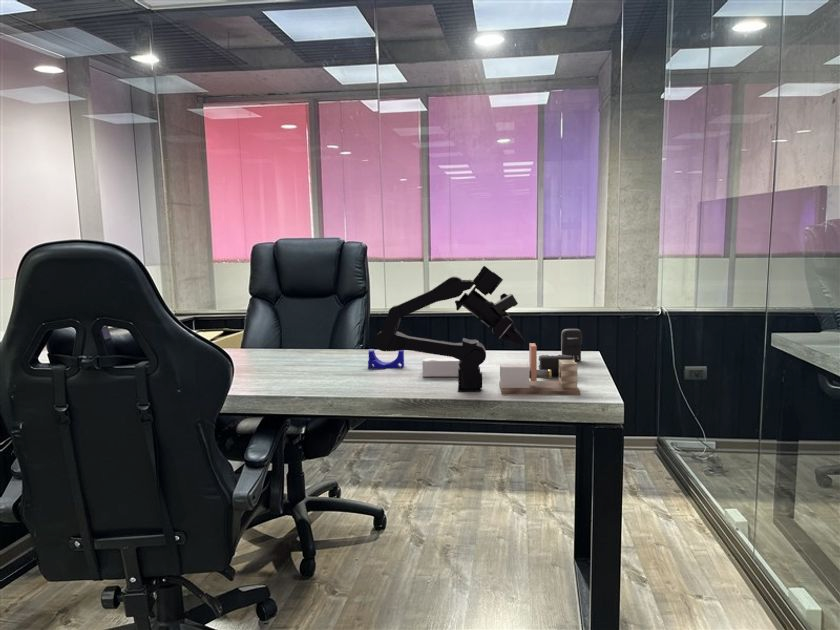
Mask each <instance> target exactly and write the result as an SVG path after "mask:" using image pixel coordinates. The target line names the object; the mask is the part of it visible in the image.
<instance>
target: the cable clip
mask: <svg viewBox="0 0 840 630" xmlns="http://www.w3.org/2000/svg"><path fill="white" fill-rule="evenodd" d="M400 364H401V365H400ZM367 365H368V366H367V370H376V369H377V370H380V369H381V370H385V369H404V367H405V350H401V351H397V357H396V358H395V359H394V360H392V361H389V362H387V361H382V360H381V359H379V358H378V357H377V355H376V353H375V349H369V350H368V360H367Z"/></svg>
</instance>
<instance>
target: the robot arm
mask: <svg viewBox="0 0 840 630" xmlns="http://www.w3.org/2000/svg"><path fill="white" fill-rule="evenodd" d="M503 280H504V279H503V278H502V277H501V276H500V275H498V274H497V273H495V271H492V270H491V269H490V268H488V267H487V266H485V265H483V266H482V268H481V269H480V271H479V272H478V273H477V275H476V276H475V277H474V278H473V279H462V278H461V277H459V276H456V275H453V276H450V277H448V278H447V279H445V280H444V281H442V282H441V283H440V284H438V285H437V286H435V287H434V288H432V289H431V290H428V291H427V292H424V293H421V294H419V295H417V296H414V297H413V298H411V299H408V300H406V301H404V302H402V303H399V304H397V305H393V306H392V307H390V308H389V310H388V314H387V316H386V319H385V321H384V324H383V325H382V328H381V331H379V332H378V333H377V335H376V336H375V338H374V344H375V347H376V348H377V349H378V351H381V352H398V351H401V350H404V351H411V352H418V353H423V354H430V355H436V356H437V355H438V356H444V357H448V358H456V359H458V360H459V367H458V376H457V378H458V379H457V381H458V386H457V391H458V392H481V389H483V372H482V371H481V367H480V365H482V364H483V363H484V362H485V361H486V359H487V353H486V348H485V346H484V344H483V343H481V342H479V341H478V340H477V339H469V338H465V337H463V338H462V342H450V341H444V340H437V339H436V340H435V339H430V338H423V337H416V336H410V335H407V334H406V333H403V332H401V331H398V329H399V326H400V322H401V320H402V318H403V317H406V316H408V315H410V314H412V313H414V312H417V311H420V310H421V309H423V308H426V307H428V306H431V305H432V304H435V303H438V302H442V301H447V300H451V299H455V298H459V297H460V296H461V295H462V296H461V297H460V298H459V300H458V299H457V300H454V303H455V307H456V308H455V309H456V311H459V310H460V309H461V308H462V307H464V309H465V310H468V312H470V313H471V314H472V315H473V316H475V317H476V318H477V320H478V321H480V322H482V323H483V324H485V325H486V326H487V327H488V328H489V329H490V330H491V332H492V333H491V334H492V335H493V336H494V337H495V338H496V339H499V340H502V341H505V342H506V341H507V342H510V343H513V344H518V345H520V346H525V345H526V344H527V342H526V341H525V339H524V336H523V335H522V334H521V333H520V331H519V330H518V329H517V328H516V327H515V323H514V321H513V320H512V318H511V315H510V314H509V313H508V312H507V311H508V310H509V309H512V308H513V307H516V306H517V305H518V304H519V303H518V301H517V299H516V298H515V296H514V294H513V293H509V294H507V293H505V292H503V293H502V294H500V295H499V297H500V300H498V301H496V302H493V301H489V300H488V299H487V298H485V296H487V295H488V294H489V296H490V295H491V296H492V295H493V293H494V292H495V290H497V288H498V287H499V285H501V283H502V282H503ZM473 286H474V287H473ZM472 287H473V288H472ZM468 290H470V291H469V292H468V293H467V292H465V291H468ZM478 291H479V292H480V293H481V294H480V293H479V292H478ZM477 341H478V342H477Z"/></svg>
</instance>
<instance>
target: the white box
mask: <svg viewBox="0 0 840 630" xmlns="http://www.w3.org/2000/svg"><path fill="white" fill-rule="evenodd" d="M477 342H479V340H477ZM421 363H422V377H458V367H459V360H458V359H456V358H454V357H430V358H429V357H427V358H426V357H425V358H423V360H422V362H421Z"/></svg>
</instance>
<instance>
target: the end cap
mask: <svg viewBox="0 0 840 630" xmlns="http://www.w3.org/2000/svg"><path fill="white" fill-rule="evenodd" d="M537 360H538V362H539V364H538V365H537V367H538V370H551V371H552V377H559V360H573V357H572V356H571V355H562V354H558V355H556V354H555V355H549V354H540V355H539V357H538V359H537Z"/></svg>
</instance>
